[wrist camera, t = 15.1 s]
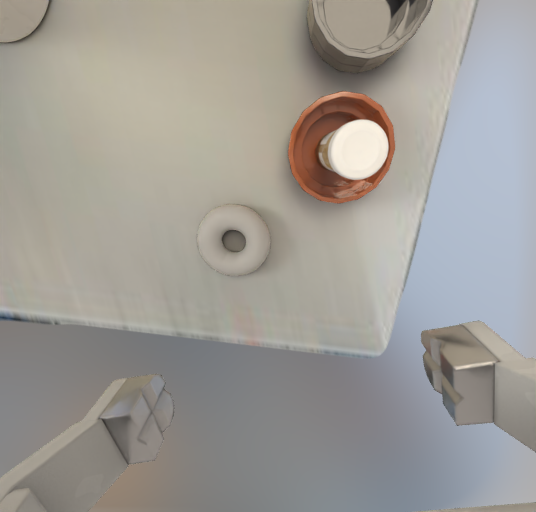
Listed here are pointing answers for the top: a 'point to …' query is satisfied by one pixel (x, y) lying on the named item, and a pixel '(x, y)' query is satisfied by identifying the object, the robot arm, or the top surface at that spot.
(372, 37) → the charcoal bowl
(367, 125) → the sprinkles bottle
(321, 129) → the terracotta bowl
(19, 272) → the top surface
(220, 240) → the donut
